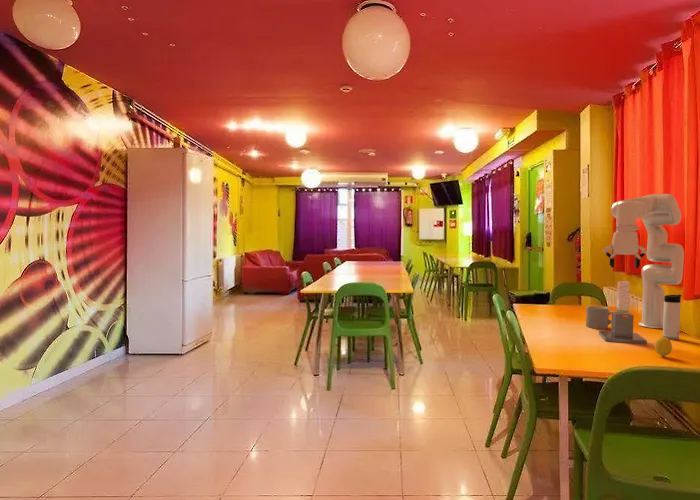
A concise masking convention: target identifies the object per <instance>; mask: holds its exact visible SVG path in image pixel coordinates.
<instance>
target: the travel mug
mask: <svg viewBox="0 0 700 500" xmlns="http://www.w3.org/2000/svg"><path fill="white" fill-rule="evenodd" d="M681 297H683V296H682V294H665V297H664V299H665V300H664V316H663V328H662V337H663V336H664V337H666V338H668V339H669V340H670V341H671V340H672V341H676V340H677V341H678V340H680V328H681V327H680V323H681V306H682V305H681V303H682V302H681Z"/></svg>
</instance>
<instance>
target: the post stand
mask: <svg viewBox="0 0 700 500" xmlns="http://www.w3.org/2000/svg"><path fill="white" fill-rule="evenodd" d="M634 316H635V315H634V314H632V313H631V312H629V315H627V314H617V311H612V314H611V320H612V324H610V325H611V327H610V328H611V329H610V330H609V331H608V330H598V335H599V336H600V337H601V338H602V339H603V340H604V341H605V342H608V343H610V342H612V343H624V344H635V345H636V344H638V345H647V344H648V340H647V339H645V338H644V337H643V336H642V335H640V334H639V333H638V332H637V333H636V332H634Z"/></svg>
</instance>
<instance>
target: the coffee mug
mask: <svg viewBox="0 0 700 500" xmlns="http://www.w3.org/2000/svg"><path fill="white" fill-rule="evenodd" d="M585 311H586V312H585V313H586V314H585V319H586V320H585V327H586V328H590V329H595V330H597V329H598V330H607V329H609V325H611V324H612V319H609V317H610V315H612V312H613V311H611V310H610V308H609V307H608V306H607V307H606V306H601V305H586V310H585Z"/></svg>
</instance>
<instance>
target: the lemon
mask: <svg viewBox="0 0 700 500" xmlns="http://www.w3.org/2000/svg"><path fill="white" fill-rule="evenodd" d="M654 349H655V352H656V353H657V354H658V355H660V356H661V357H663V358H664V357H666V356H668V355H670V354H671V352H672V349H673V345H672V342H671V340H670V339H668V338H666V337H664V336H663V335H662V336H661V337H659V338H657V339H656V340H655V343H654Z"/></svg>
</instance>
